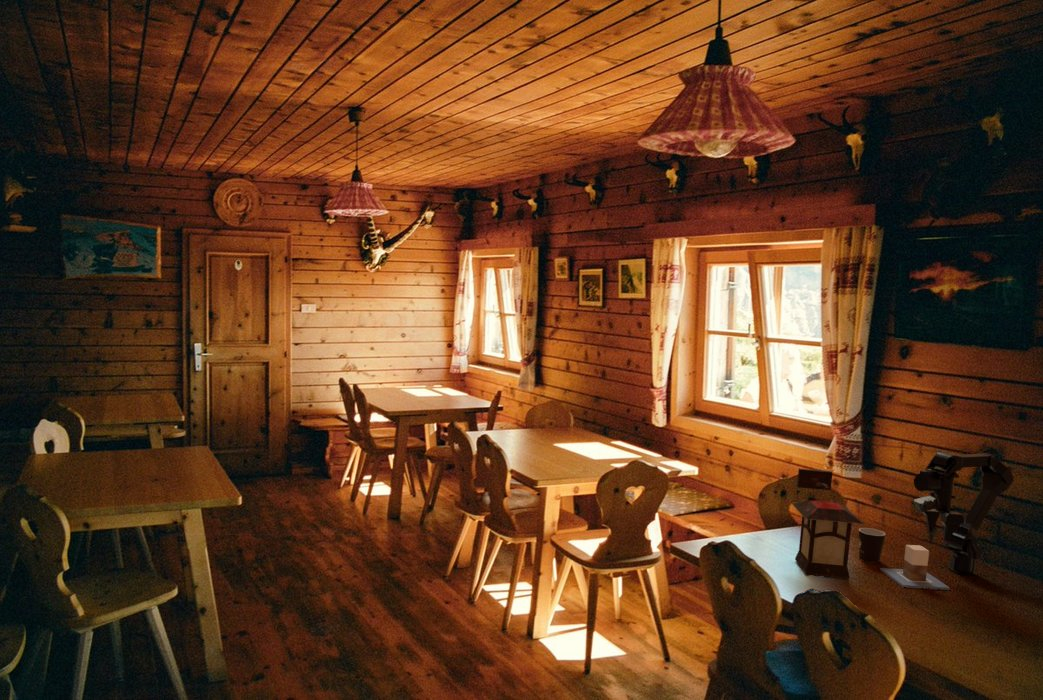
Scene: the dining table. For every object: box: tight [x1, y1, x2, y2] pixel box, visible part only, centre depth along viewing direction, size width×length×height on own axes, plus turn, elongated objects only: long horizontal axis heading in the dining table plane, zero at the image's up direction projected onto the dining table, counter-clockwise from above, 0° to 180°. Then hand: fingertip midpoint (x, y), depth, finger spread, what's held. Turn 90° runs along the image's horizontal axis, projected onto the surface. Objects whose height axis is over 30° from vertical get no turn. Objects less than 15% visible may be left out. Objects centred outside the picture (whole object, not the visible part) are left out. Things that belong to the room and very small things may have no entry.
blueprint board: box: [879, 567, 951, 591], centre depth 255 cm, size 15×15×1 cm
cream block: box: [903, 544, 930, 567], centre depth 255 cm, size 5×5×5 cm
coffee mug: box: [858, 527, 886, 564], centre depth 274 cm, size 12×9×10 cm
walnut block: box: [903, 560, 928, 581], centre depth 255 cm, size 5×5×5 cm
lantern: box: [791, 468, 865, 580], centre depth 261 cm, size 18×26×30 cm
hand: (937, 536), depth 262 cm, fingers open, 9 cm apart
